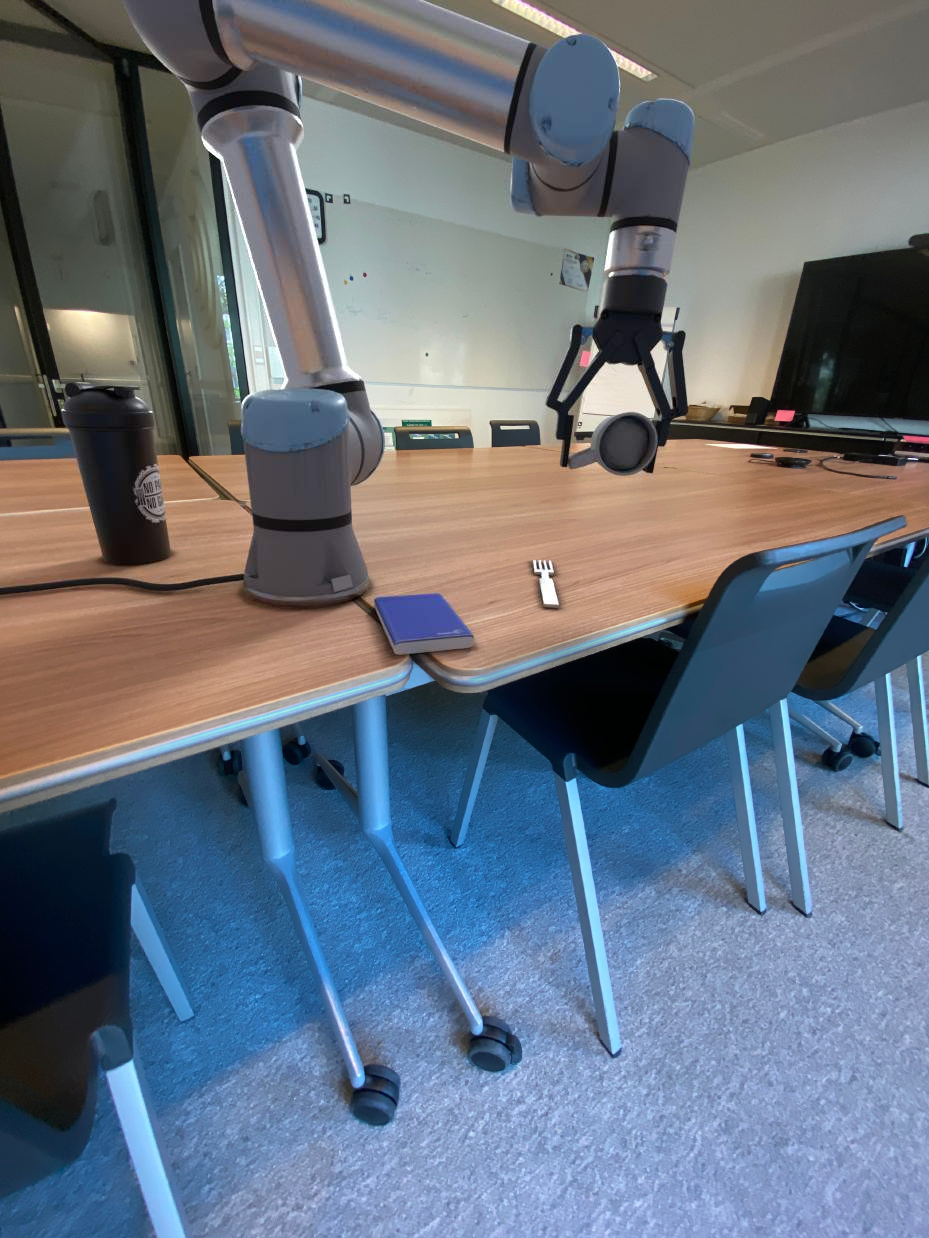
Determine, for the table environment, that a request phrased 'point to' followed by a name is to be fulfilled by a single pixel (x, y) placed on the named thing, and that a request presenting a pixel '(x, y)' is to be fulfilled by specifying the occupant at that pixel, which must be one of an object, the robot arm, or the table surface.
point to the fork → (546, 584)
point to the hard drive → (421, 624)
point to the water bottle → (118, 471)
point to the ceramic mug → (620, 445)
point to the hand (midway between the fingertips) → (605, 469)
